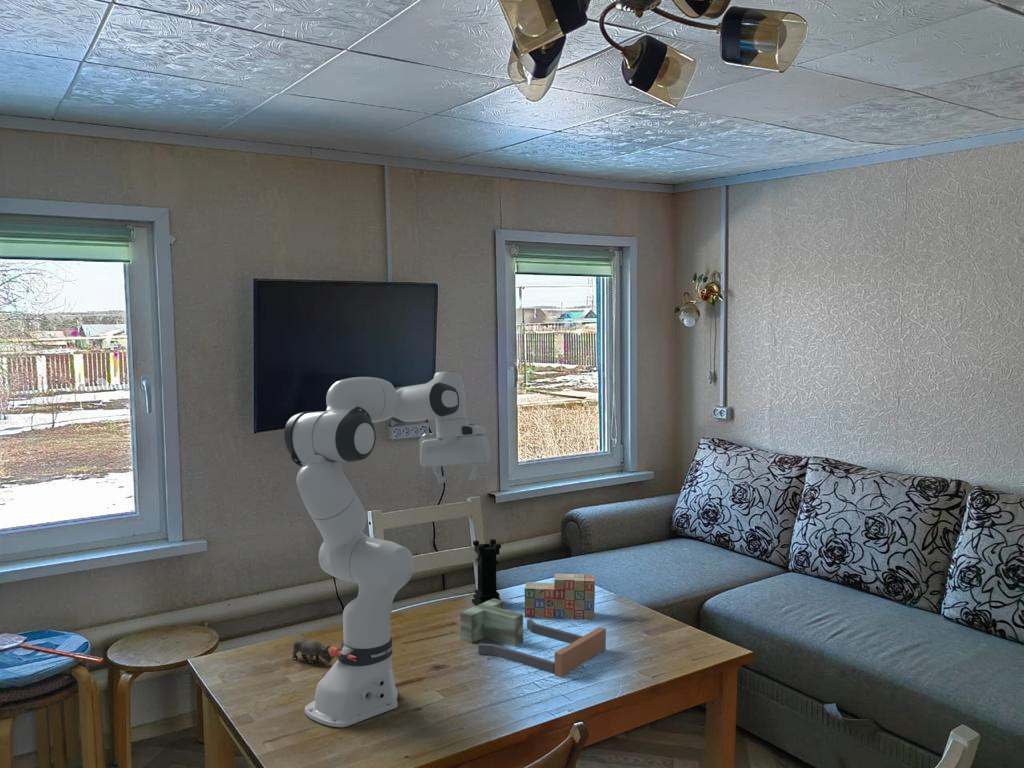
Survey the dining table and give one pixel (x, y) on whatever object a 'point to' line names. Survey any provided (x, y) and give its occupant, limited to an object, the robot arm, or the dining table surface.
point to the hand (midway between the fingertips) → (457, 481)
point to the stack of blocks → (561, 597)
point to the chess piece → (486, 571)
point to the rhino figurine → (311, 649)
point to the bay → (564, 658)
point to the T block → (492, 623)
